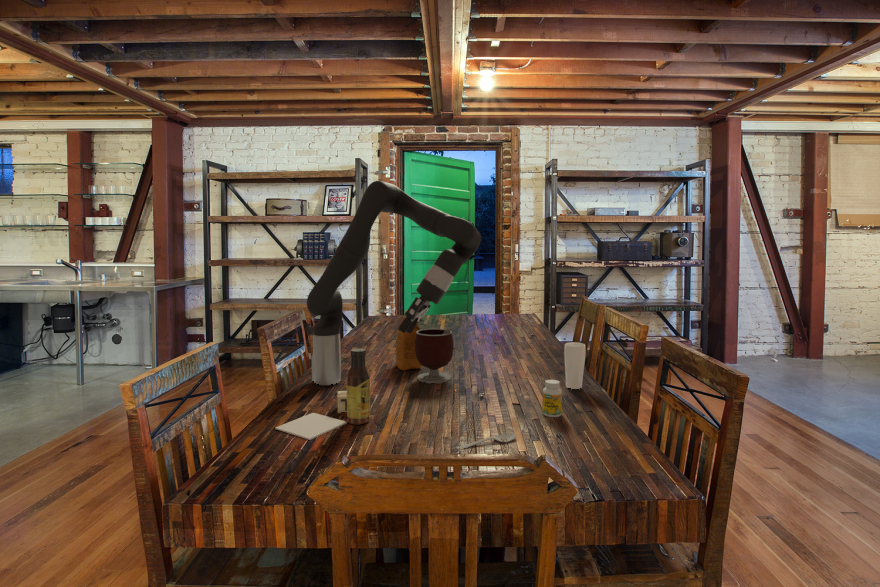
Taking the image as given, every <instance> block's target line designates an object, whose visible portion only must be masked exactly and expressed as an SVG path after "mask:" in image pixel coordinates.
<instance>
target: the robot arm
mask: <svg viewBox="0 0 880 587" xmlns="http://www.w3.org/2000/svg"><path fill="white" fill-rule="evenodd" d="M360 200H361V201H360V202H359V205H358V207H357V210H356V212H355V214H354V216H353V218H352V220H351V222H350V223H349V225H348V228H347V230H346V232H345V233H344V235H343V237H342V238H341V240H340V242H339V244H338V246H337V248H336V249H335V251H334V254H333V255H332V257H331V259H330V260H329V262H328V264H327V266H326V268H325V270H324V271H323V273H322V274H321V276H320V278H318V280H317V281H316V283H315V285H313V287H312V288H311V290H310V291H309V293H308V296H307V299H306V308H307V310H308V312H309V313H310V314H311V315H313V316H320V318H319V319H318V321H317V322H316V323H315V324H314V325H313V326H312V348H313V349H312V350H313V352H312V355H311V382H312V381H314V382H313V383H314V384H315V383H316V384H315V385H317V384H319V385H318V386H332V385H331V384H333V385H337V384H340V383H341V382H342V365H341V327H342V324H343V306H344V305H343V297H342V294H341V292H340V291H339V290H338V288H339V287H340V286H341V284H343V283H344V282H345V281H346V280H347V279H348V278H349V277H350V276H351V275H352V274H354V273H355V271H357V270H358V269H359V267H360V266H361V264H362V262H364V259H365V257H366V256H367V255H368V252H369V249H370V246H371V245H370V244H371V230H372V229H373V228H372V227H373V225H374V224H375V221H376V220H377V218H378V216H379V215H380V213H392V214H396V215H399V216H402V217H405V218H407V219H409V220H410V221H412V222H413V223H415V224H416V225H417V226H419V227H420V228H422V229H424V230H425V231H427V232H429V233H431V234H433V235H436V236H437V237H440V238H446V239H448V240H451V241H452V242H454V244H453V245H452V246H451V247H450V248H449V249H444V250H443V251H442V252H441V253H440V254H439V255H438V257H437V258H436V260H435V262H434V263H433V265H432V266H431V267H430V268H429V270H428V271H427V272H426V274H424V277H423V278H422V280H421V281H420V283H419V285H418V286H417V287H416V289H415V291H416V293H418V294H419V295H420V296H419V297H418V296H416V297H415V298H414V299H413V302H412V303H411V305H410V306H409V307H408V309H407V312H406V313H405V312H404V314H405V319H404V320H403V322H402V321H401V322H402V323H401V322H400V324H401V325H400V324H399V326H398V328H397V329H398V331H399V330H400V331H401V332H403V333H405V332H408V333H412V331H413V330H414V328H415V327H416V325H418V324H420V323H421V322H422V321H423V319H424V317H425V315H426V314H427V313H428V311H429V310H430V309H431V306H432V305H431V304H430V303H433V304H434V305H438V304H440V301H442V298H443V297H444V296H445V294H446V292H447V291H448V290H449V288H450V286H451V284H452V282H453V281H454V278H455V277H456V275H457V274H458V273H459V271H460V269H461V268H462V266H463V265H464V264H465V263H466V262H467V261H468V260H469V259H470V258H471V257H472V256H473V254H475V252H477V250H478V249H479V247H480V244H481V242H482V236H481V233H480V232H479V231H478V229H477V227H475V225H474V224H473V223H472V222H470V221H468V220H467V219H464V218H462V217H457V216H454V215H450V214H449V213H447V212H444V211H442V210H440V209H437V208H436V207H433V206H430V205H428V204H426V203H424V202H421V201H419V200H417V199H415V198H413V197H412V196H410V195H409V194H408V193H406V192H405V191H404V190H403V189H402V190H401V188H399V187H398V186H397V185H395V184H393V183H389V182H387V181H383V180H375V181H373V182H371V183H370V184H369V185H368V186H367V187H366V189H365V192H364V193H363V195H362V197H361V199H360ZM340 381H341V382H340ZM336 383H337V384H336Z"/></svg>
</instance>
